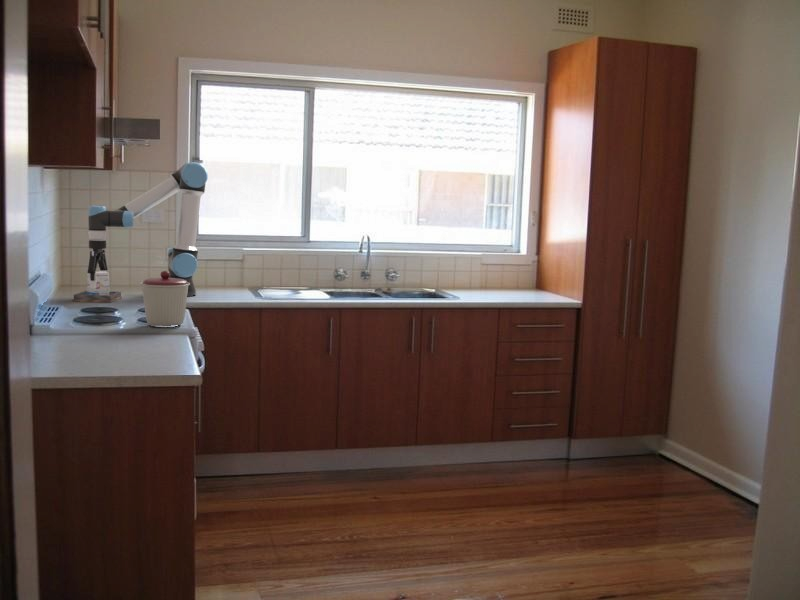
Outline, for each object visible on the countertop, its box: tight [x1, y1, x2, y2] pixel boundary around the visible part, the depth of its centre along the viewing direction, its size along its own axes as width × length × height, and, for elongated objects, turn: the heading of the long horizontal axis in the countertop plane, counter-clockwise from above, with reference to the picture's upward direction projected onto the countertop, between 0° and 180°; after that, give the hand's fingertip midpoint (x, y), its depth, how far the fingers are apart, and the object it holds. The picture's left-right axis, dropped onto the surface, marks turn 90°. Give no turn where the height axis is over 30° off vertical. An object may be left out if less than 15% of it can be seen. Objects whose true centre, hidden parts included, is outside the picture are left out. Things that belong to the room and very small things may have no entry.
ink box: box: [86, 271, 110, 295], centre depth 381 cm, size 9×5×12 cm, turn 139°
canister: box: [139, 270, 190, 326], centre depth 315 cm, size 18×18×21 cm
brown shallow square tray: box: [72, 290, 123, 304], centre depth 382 cm, size 17×17×3 cm
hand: (97, 286), depth 381 cm, fingers open, 13 cm apart
